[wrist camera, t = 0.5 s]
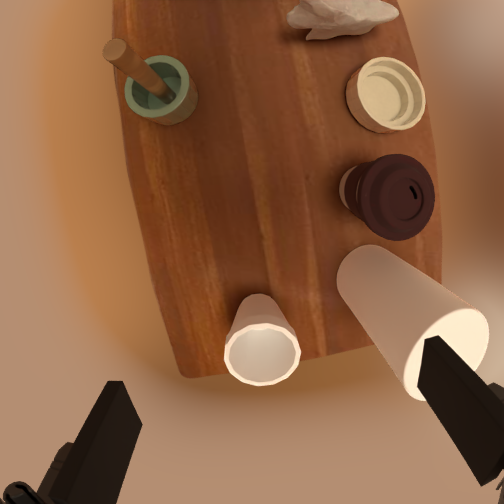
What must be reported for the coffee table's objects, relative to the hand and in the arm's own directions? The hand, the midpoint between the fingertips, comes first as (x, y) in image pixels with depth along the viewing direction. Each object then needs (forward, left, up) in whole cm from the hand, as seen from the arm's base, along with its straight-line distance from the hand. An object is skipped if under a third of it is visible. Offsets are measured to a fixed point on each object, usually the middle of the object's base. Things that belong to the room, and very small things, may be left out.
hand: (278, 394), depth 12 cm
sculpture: (-30, +14, -36) cm, 49 cm away
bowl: (-19, +20, -36) cm, 45 cm away
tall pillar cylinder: (+9, +17, -36) cm, 41 cm away
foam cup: (+13, -1, -36) cm, 38 cm away
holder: (-21, -11, -36) cm, 43 cm away
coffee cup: (-5, +16, -36) cm, 40 cm away
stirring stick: (-21, -11, -35) cm, 42 cm away
